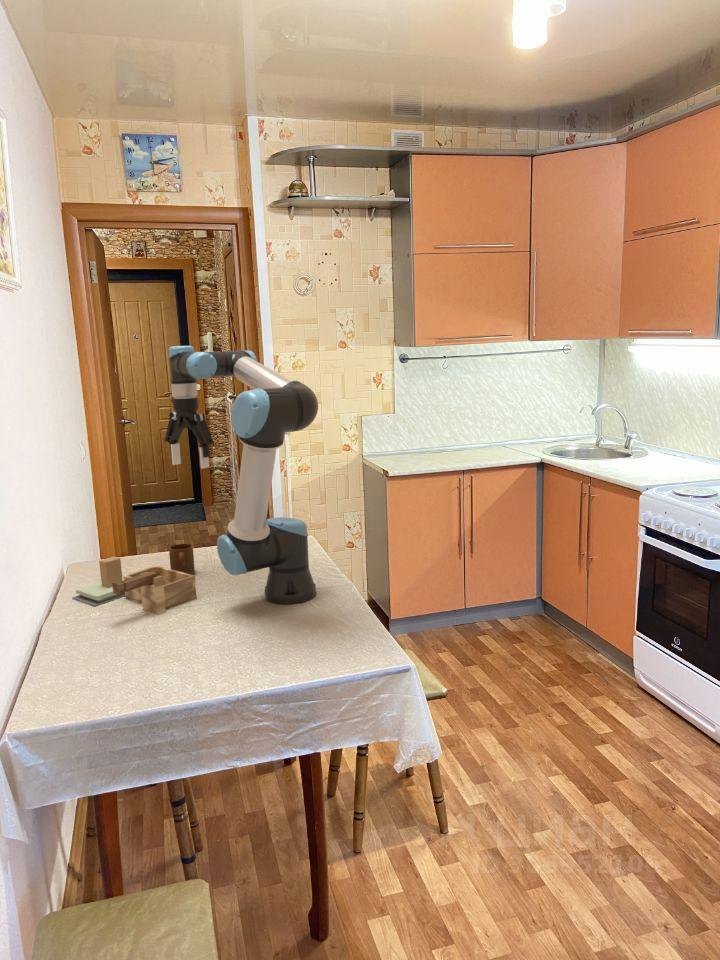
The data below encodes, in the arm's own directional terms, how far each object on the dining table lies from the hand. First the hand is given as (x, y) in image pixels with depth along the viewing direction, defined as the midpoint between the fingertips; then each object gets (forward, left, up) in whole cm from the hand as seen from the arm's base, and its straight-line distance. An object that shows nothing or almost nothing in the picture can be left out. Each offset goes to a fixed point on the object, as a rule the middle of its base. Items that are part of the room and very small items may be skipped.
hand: (190, 466), depth 221 cm
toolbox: (-5, +19, -37) cm, 42 cm away
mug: (+7, +1, -37) cm, 38 cm away
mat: (+13, +23, -37) cm, 45 cm away
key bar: (-10, +30, -28) cm, 43 cm away
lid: (+13, +23, -35) cm, 44 cm away
